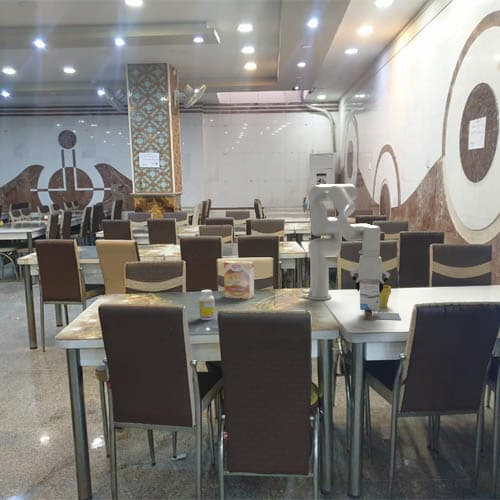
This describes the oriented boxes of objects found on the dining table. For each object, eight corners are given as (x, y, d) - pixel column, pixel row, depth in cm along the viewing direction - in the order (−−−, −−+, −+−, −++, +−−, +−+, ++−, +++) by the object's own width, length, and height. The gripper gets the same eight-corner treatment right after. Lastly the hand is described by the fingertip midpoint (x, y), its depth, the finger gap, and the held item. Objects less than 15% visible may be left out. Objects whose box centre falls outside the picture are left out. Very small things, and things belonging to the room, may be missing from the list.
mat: (374, 319, 199) (374, 318, 199) (373, 313, 209) (373, 312, 209) (401, 320, 196) (401, 319, 196) (398, 313, 207) (398, 313, 207)
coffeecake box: (224, 297, 247) (223, 262, 245) (229, 294, 254) (228, 260, 252) (249, 299, 242) (249, 263, 240) (254, 296, 248) (254, 261, 246)
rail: (365, 320, 198) (365, 314, 197) (364, 311, 212) (364, 306, 212) (372, 320, 197) (372, 314, 197) (371, 311, 211) (371, 306, 211)
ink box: (359, 310, 204) (358, 277, 202) (360, 307, 209) (359, 275, 207) (379, 310, 201) (378, 277, 200) (379, 307, 206) (378, 275, 204)
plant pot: (366, 304, 227) (366, 284, 226) (387, 303, 227) (387, 284, 225) (371, 309, 217) (371, 288, 216) (393, 308, 216) (393, 288, 215)
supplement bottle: (200, 316, 208) (199, 289, 207) (214, 316, 209) (213, 288, 207) (199, 320, 202) (198, 292, 200) (214, 320, 202) (213, 291, 201)
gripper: (350, 254, 199) (349, 292, 202) (391, 255, 196) (390, 294, 198) (350, 251, 207) (349, 288, 209) (390, 252, 203) (388, 290, 206)
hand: (369, 291), depth 204 cm, fingers open, 9 cm apart
